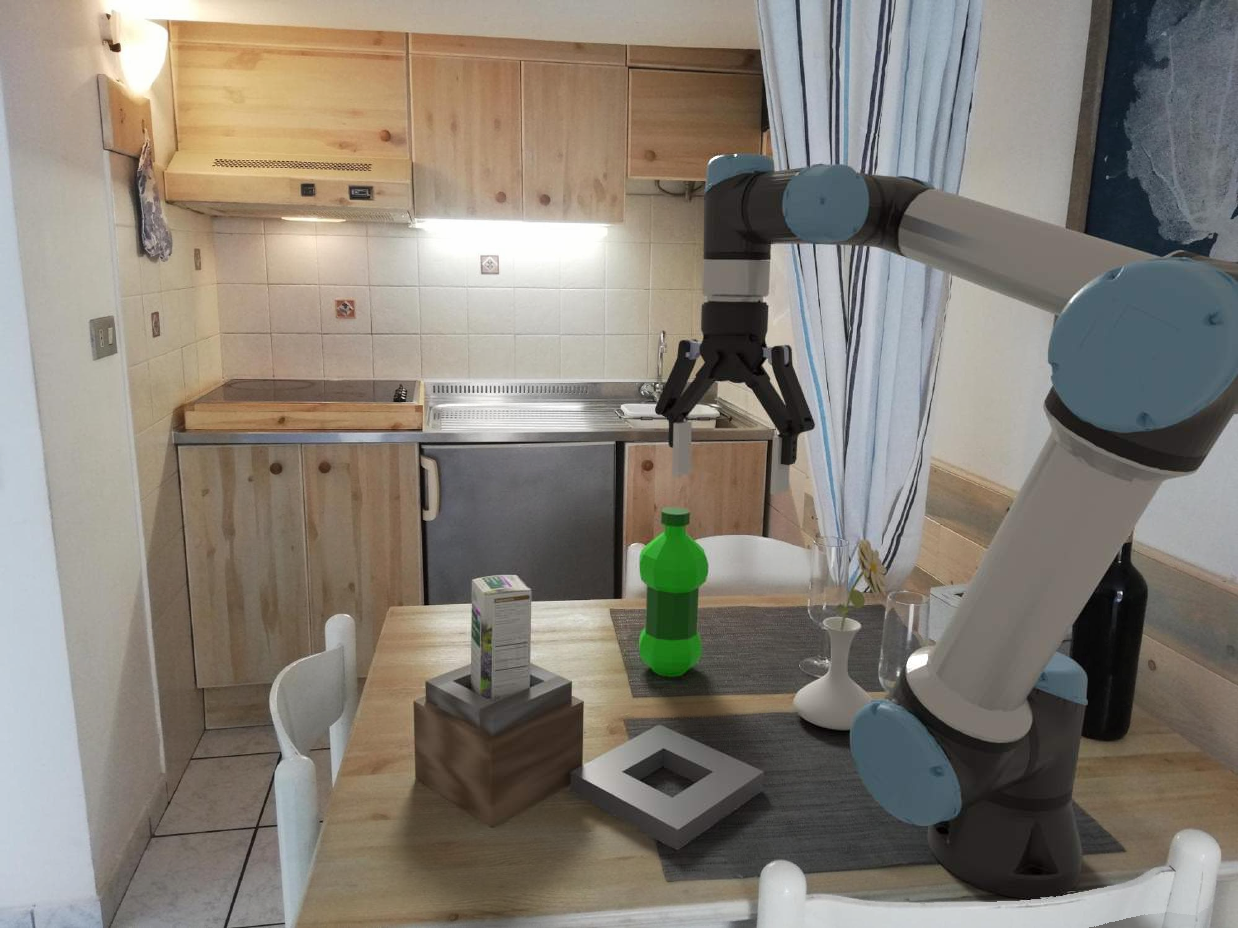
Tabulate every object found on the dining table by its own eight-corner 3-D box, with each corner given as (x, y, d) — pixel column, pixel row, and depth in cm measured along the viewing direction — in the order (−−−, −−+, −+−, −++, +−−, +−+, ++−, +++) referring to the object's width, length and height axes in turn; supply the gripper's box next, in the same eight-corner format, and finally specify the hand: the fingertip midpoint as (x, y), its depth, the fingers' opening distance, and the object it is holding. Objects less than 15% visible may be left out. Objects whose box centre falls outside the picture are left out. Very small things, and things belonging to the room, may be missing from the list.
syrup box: (469, 694, 110) (468, 577, 107) (517, 686, 113) (517, 572, 110) (482, 715, 105) (482, 594, 102) (532, 706, 108) (533, 587, 105)
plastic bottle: (695, 688, 136) (703, 523, 130) (626, 677, 139) (631, 515, 134) (710, 661, 145) (718, 506, 140) (645, 651, 148) (650, 499, 143)
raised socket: (582, 777, 112) (584, 681, 109) (491, 827, 102) (491, 722, 99) (505, 736, 121) (505, 646, 118) (415, 778, 111) (413, 680, 108)
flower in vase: (842, 747, 120) (858, 563, 115) (775, 714, 129) (786, 540, 123) (901, 718, 128) (918, 544, 123) (834, 688, 137) (847, 524, 132)
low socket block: (762, 790, 110) (763, 771, 109) (677, 850, 98) (678, 829, 98) (658, 742, 120) (659, 724, 120) (570, 791, 109) (570, 771, 108)
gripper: (852, 302, 100) (840, 494, 104) (666, 296, 116) (662, 464, 120) (819, 302, 95) (808, 506, 99) (628, 297, 110) (625, 473, 114)
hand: (728, 483), depth 109 cm, fingers open, 13 cm apart
